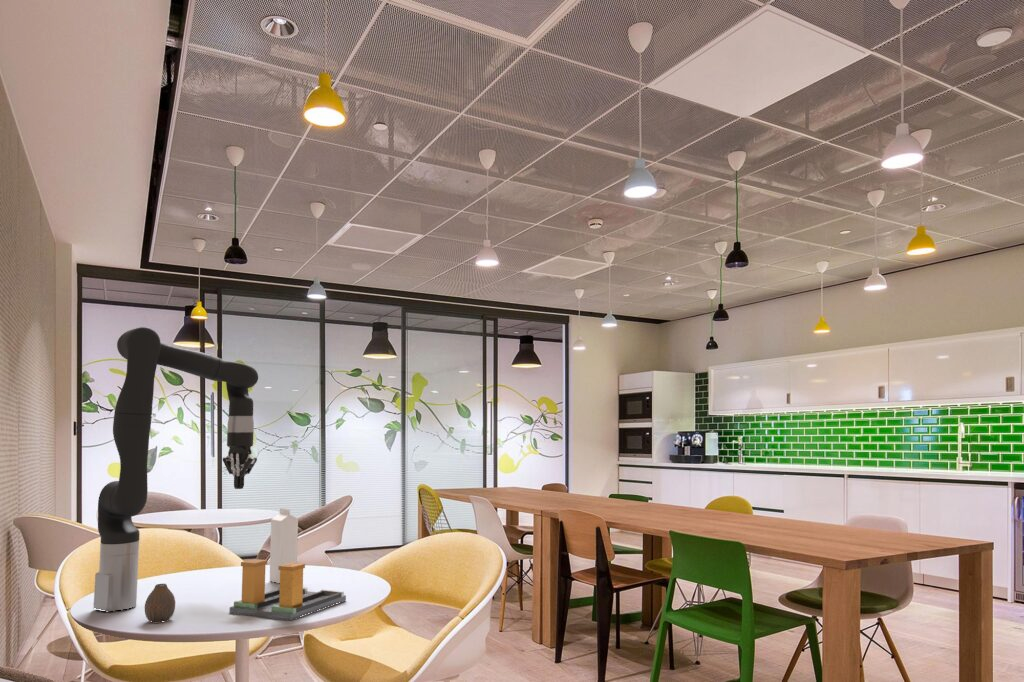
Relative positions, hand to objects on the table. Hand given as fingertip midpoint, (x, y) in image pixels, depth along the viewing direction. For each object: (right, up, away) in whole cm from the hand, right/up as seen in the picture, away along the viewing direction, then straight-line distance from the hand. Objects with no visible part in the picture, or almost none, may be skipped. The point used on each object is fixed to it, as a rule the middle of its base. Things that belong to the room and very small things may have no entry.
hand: (238, 488), depth 223 cm
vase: (-5, -25, -40) cm, 48 cm away
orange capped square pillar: (+15, -24, -31) cm, 42 cm away
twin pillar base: (+24, -26, -28) cm, 45 cm away
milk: (+12, -30, +5) cm, 33 cm away
